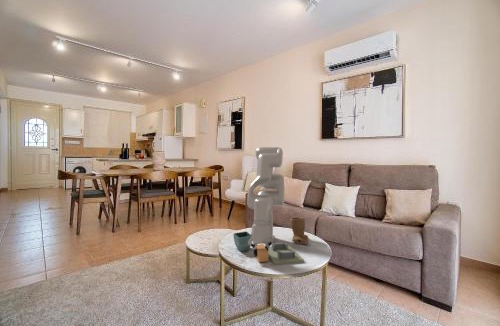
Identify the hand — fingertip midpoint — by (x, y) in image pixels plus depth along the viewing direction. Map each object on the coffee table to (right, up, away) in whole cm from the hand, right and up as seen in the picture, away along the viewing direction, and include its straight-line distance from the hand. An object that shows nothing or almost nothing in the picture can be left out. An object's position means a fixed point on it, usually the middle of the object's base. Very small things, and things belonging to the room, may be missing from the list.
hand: (261, 254), depth 134 cm
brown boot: (+26, -1, +27) cm, 37 cm away
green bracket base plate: (+12, -2, +4) cm, 13 cm away
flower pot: (-10, -2, +13) cm, 16 cm away
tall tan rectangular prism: (0, -1, 0) cm, 1 cm away
